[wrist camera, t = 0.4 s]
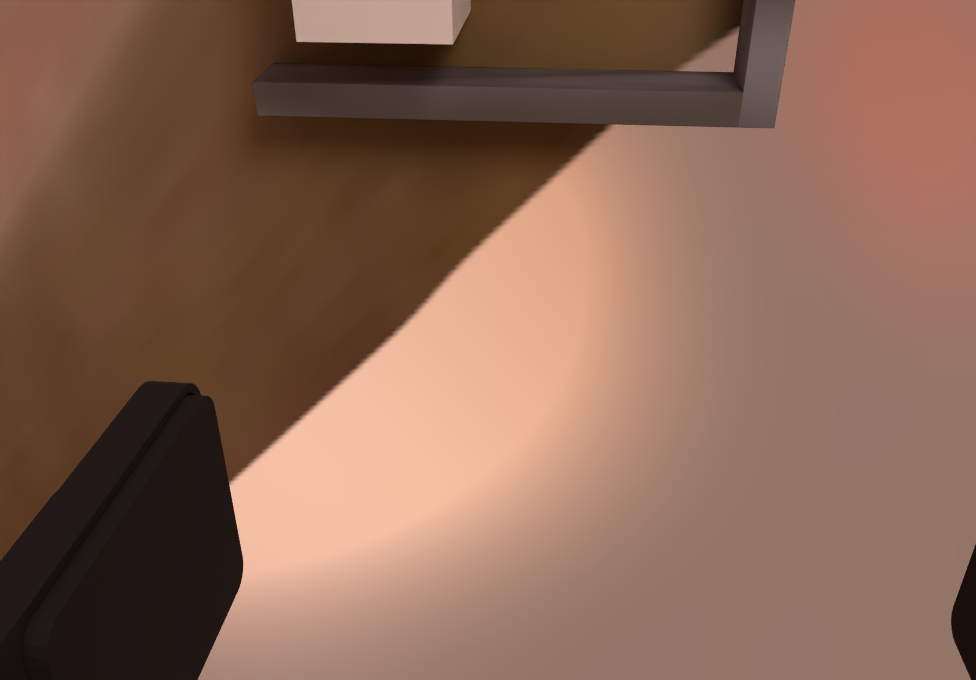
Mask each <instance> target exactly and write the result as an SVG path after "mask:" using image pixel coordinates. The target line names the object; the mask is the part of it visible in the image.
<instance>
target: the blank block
mask: <svg viewBox="0 0 976 680" xmlns="http://www.w3.org/2000/svg"><path fill="white" fill-rule="evenodd" d="M292 7H293V16H294V24H295V33H296V42H339V43H398V44H453V43H454V42H455V40H456V38H457V36H458V34H459V32H460V30H461V28H462V26H463V24H464V23H465V21H466V19H467V17H468V15H469V13H470V11H471V0H292Z"/></svg>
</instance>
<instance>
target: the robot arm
mask: <svg viewBox="0 0 976 680" xmlns="http://www.w3.org/2000/svg"><path fill="white" fill-rule="evenodd" d="M242 573H243V557H242V551H241V546H240V540H239V535H238V530H237V525H236V520H235V514H234V508H233V503H232V497H231V492H230V487H229V481H228V476H227V471H226V465H225V460H224V454H223V449H222V444H221V438H220V433H219V428H218V422H217V417H216V411H215V407H214V403H213V401H212V399H211V398H210V397H209V396H201V394H200V391H199V389H198V388H197V386H196V385H194V384H192V383H176V382H157V381H148V382H145V383H144V384H142V385H141V386H140V387H139V389H138V390H137V391H136V392H135V394H134V395H133V396H132V397H131V399H130V400H129V401H128V402H127V404H126V405H125V406H124V408H123V409H122V410H121V411H120V413H119V414H118V415H117V416H116V418H115V419H114V420H113V421H112V423H111V424H110V425H109V427H108V428H107V429H106V430H105V432H104V433H103V434H102V435H101V437H100V438H99V439H98V440H97V442H96V443H95V444H94V446H93V447H92V448H91V449H90V451H89V452H88V453H87V454H86V456H85V457H84V458H83V459H82V461H81V462H80V463H79V465H78V466H77V467H76V468H75V470H74V471H73V472H72V473H71V475H70V476H69V477H68V478H67V480H66V481H65V482H64V484H63V485H62V486H61V487H60V489H59V490H58V491H57V492H56V493H55V494H54V495H53V496H52V497H51V498H50V499H49V501H48V502H47V503H46V504H45V506H44V507H43V508H42V509H41V511H40V512H39V513H38V515H37V516H36V517H35V518H34V520H33V521H32V522H31V523H30V525H29V526H28V527H27V528H26V530H25V531H24V532H23V533H22V535H21V536H20V537H19V539H18V540H17V541H16V542H15V544H14V545H13V546H12V547H11V549H10V550H9V551H8V552H7V554H6V555H5V556H4V557H3V559H2V560H1V561H0V680H198V677H199V675H200V673H201V671H202V669H203V666H204V664H205V662H206V660H207V658H208V655H209V653H210V651H211V649H212V647H213V645H214V642H215V640H216V638H217V636H218V634H219V631H220V629H221V627H222V625H223V622H224V620H225V618H226V616H227V614H228V612H229V609H230V607H231V605H232V603H233V601H234V598H235V596H236V594H237V592H238V589H239V587H240V584H241V579H242ZM951 626H952V633H953V638H954V641H955V644H956V646H957V648H958V650H959V653H960V655H961V657H962V660H963V662H964V664H965V666H966V669H967V671H968V673H969V675H970V678H971V680H976V545H975V548H974V550H973V553H972V556H971V559H970V562H969V564H968V567H967V570H966V573H965V576H964V578H963V581H962V584H961V587H960V590H959V592H958V595H957V598H956V601H955V604H954V606H953V610H952V617H951Z"/></svg>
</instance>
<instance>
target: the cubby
mask: <svg viewBox="0 0 976 680" xmlns="http://www.w3.org/2000/svg"><path fill="white" fill-rule="evenodd" d="M794 4H795V0H743V7H742V14H741V22H740V29H739V36H738V45H737V51H736V59H735V66H734V72H687V71H636V70H585V69H534V68H483V67H432V66H381V65H331V64H280V63H274V64H272V65H271V66H270V67H269V68H268V69H267V70H266V71H265V72H263V73H262V74H261V75H260V76H259V77H258V78H257V79H255V80H254V81H253V89H254V96H255V102H256V109H257V115H260V116H301V117H341V118H381V119H421V120H462V121H502V122H542V123H583V124H623V125H664V126H704V127H744V128H774V126H775V120H776V114H777V108H778V101H779V96H780V90H781V83H782V77H783V71H784V65H785V59H786V53H787V47H788V41H789V35H790V29H791V23H792V16H793V10H794Z"/></svg>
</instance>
